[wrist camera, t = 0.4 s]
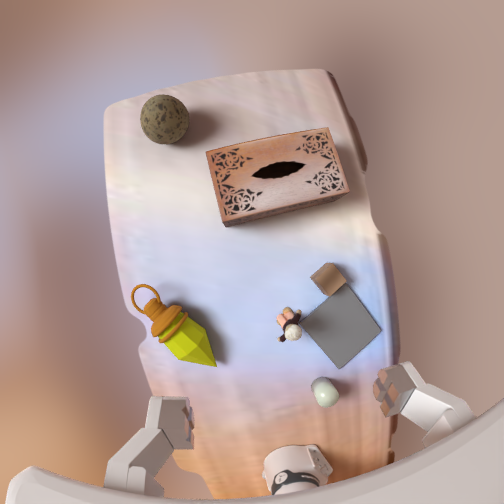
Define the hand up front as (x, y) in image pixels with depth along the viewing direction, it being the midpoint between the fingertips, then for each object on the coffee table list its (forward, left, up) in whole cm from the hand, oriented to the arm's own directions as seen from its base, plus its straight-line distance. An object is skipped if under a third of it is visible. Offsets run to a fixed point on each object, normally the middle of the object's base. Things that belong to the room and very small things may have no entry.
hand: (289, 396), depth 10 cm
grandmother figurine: (-11, 0, -51) cm, 52 cm away
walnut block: (-10, -13, -51) cm, 54 cm away
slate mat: (-22, -9, -51) cm, 56 cm away
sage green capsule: (-31, +4, -51) cm, 60 cm away
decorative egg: (+40, -8, -51) cm, 65 cm away
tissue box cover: (+14, -18, -51) cm, 56 cm away
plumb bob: (+3, +19, -51) cm, 54 cm away
